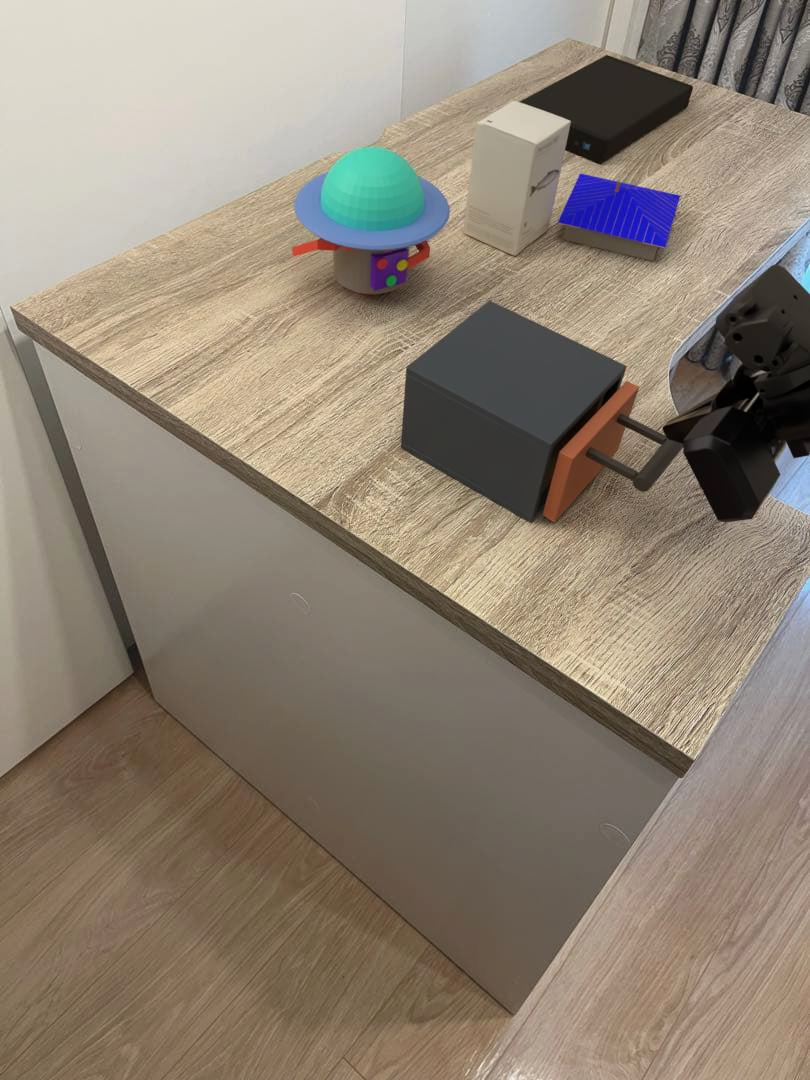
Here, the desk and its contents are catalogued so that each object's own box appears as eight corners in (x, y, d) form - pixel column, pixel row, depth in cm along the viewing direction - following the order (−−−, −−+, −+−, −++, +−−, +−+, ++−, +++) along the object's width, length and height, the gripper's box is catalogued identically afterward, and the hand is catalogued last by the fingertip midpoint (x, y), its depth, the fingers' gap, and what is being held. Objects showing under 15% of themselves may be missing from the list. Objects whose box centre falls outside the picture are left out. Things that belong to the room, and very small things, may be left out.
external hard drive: (687, 108, 121) (693, 86, 119) (600, 165, 109) (606, 141, 107) (600, 76, 126) (605, 54, 124) (509, 126, 115) (513, 103, 112)
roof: (576, 191, 105) (585, 147, 100) (674, 214, 102) (688, 170, 98) (553, 241, 97) (563, 196, 93) (659, 266, 95) (673, 221, 91)
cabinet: (601, 445, 76) (627, 365, 69) (531, 523, 70) (551, 444, 63) (477, 380, 81) (489, 299, 74) (400, 448, 75) (406, 367, 68)
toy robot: (399, 233, 96) (405, 104, 86) (468, 306, 88) (486, 174, 78) (274, 264, 91) (265, 131, 80) (336, 344, 83) (335, 209, 72)
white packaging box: (516, 258, 95) (536, 144, 85) (460, 233, 97) (474, 120, 87) (550, 231, 98) (573, 119, 89) (496, 208, 101) (513, 97, 91)
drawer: (675, 480, 73) (702, 417, 67) (615, 557, 67) (639, 494, 62) (498, 389, 79) (510, 324, 74) (430, 451, 73) (437, 386, 68)
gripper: (888, 194, 54) (675, 278, 66) (776, 333, 44) (549, 402, 56) (948, 349, 57) (734, 402, 69) (856, 511, 47) (625, 539, 59)
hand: (666, 430), depth 63 cm, fingers closed
